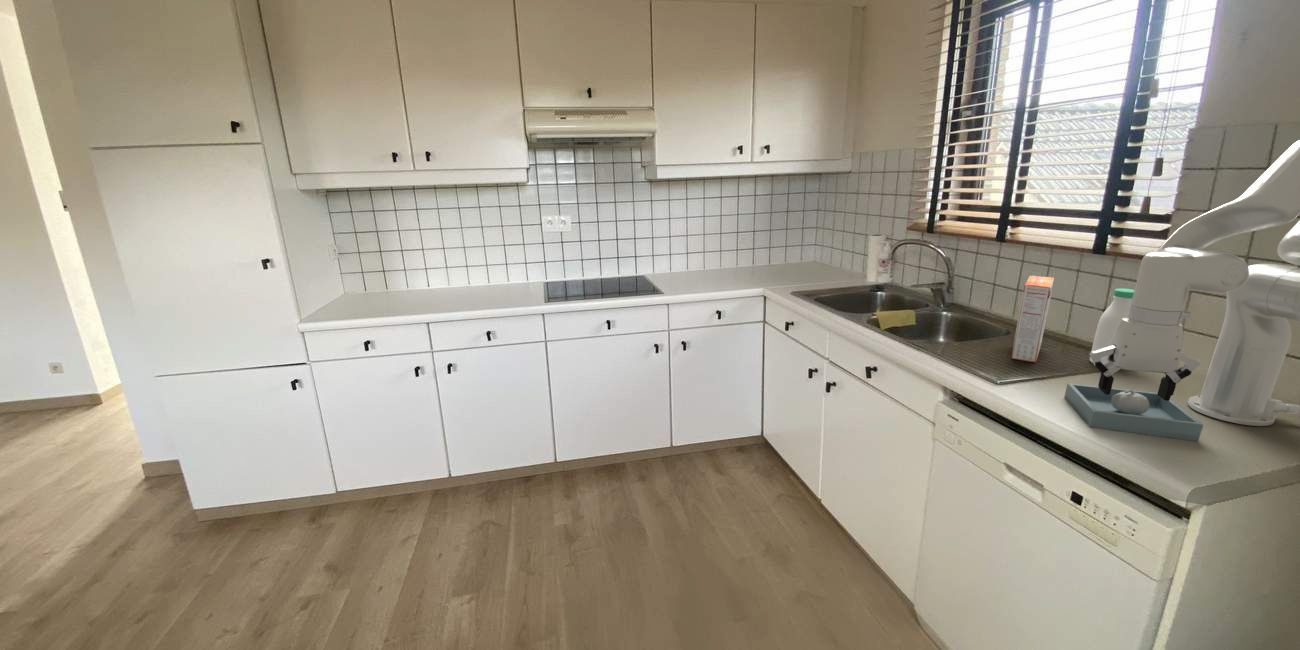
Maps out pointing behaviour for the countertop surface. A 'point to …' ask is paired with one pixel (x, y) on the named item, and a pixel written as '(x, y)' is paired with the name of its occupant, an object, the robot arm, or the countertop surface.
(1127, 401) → the garlic
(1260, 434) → the countertop surface
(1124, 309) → the milk bottle
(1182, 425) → the tray
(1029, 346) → the cracker box
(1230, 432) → the countertop surface
